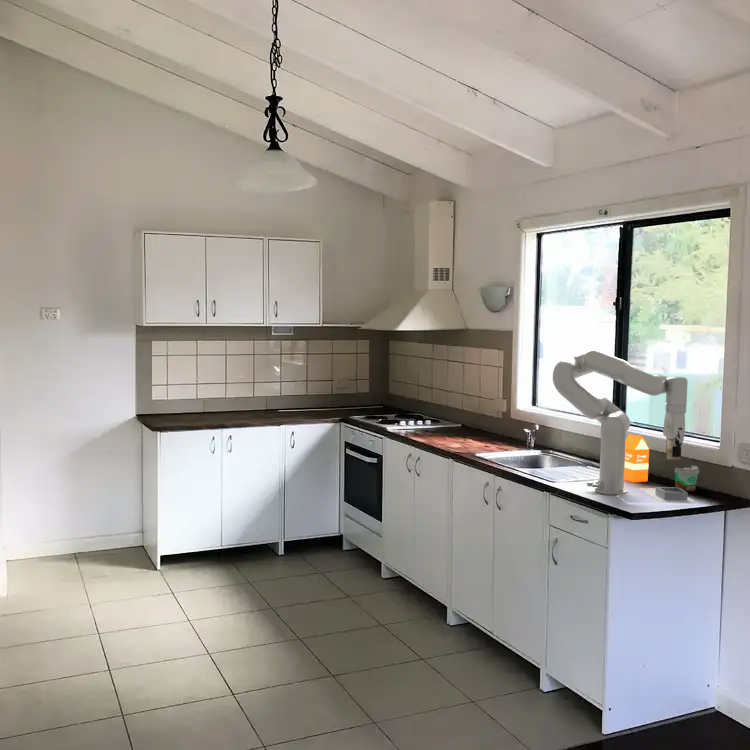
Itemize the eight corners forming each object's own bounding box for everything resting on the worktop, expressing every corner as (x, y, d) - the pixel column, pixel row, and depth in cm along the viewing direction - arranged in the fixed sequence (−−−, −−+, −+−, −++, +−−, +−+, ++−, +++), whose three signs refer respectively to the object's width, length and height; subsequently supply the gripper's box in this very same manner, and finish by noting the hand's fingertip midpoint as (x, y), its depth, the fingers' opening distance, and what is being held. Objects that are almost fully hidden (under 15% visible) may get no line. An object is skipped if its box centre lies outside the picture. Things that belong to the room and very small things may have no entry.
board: (659, 502, 315) (659, 500, 315) (638, 489, 336) (638, 488, 336) (695, 503, 315) (695, 501, 315) (672, 490, 337) (672, 488, 337)
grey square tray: (664, 499, 316) (664, 492, 316) (655, 494, 325) (655, 487, 325) (687, 500, 316) (687, 492, 316) (677, 494, 325) (678, 487, 325)
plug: (669, 459, 317) (670, 439, 316) (664, 457, 322) (665, 437, 321) (682, 459, 317) (683, 439, 317) (677, 457, 322) (678, 437, 322)
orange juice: (632, 484, 348) (635, 437, 346) (619, 479, 356) (621, 433, 355) (647, 483, 351) (650, 436, 349) (634, 478, 359) (636, 433, 357)
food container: (686, 495, 329) (688, 470, 328) (673, 492, 334) (674, 467, 333) (704, 491, 336) (705, 467, 336) (690, 488, 341) (692, 464, 341)
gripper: (657, 406, 326) (655, 451, 328) (675, 411, 309) (672, 459, 311) (676, 406, 327) (673, 451, 328) (694, 411, 310) (692, 459, 311)
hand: (673, 455), depth 320 cm, fingers closed on plug, 5 cm apart
